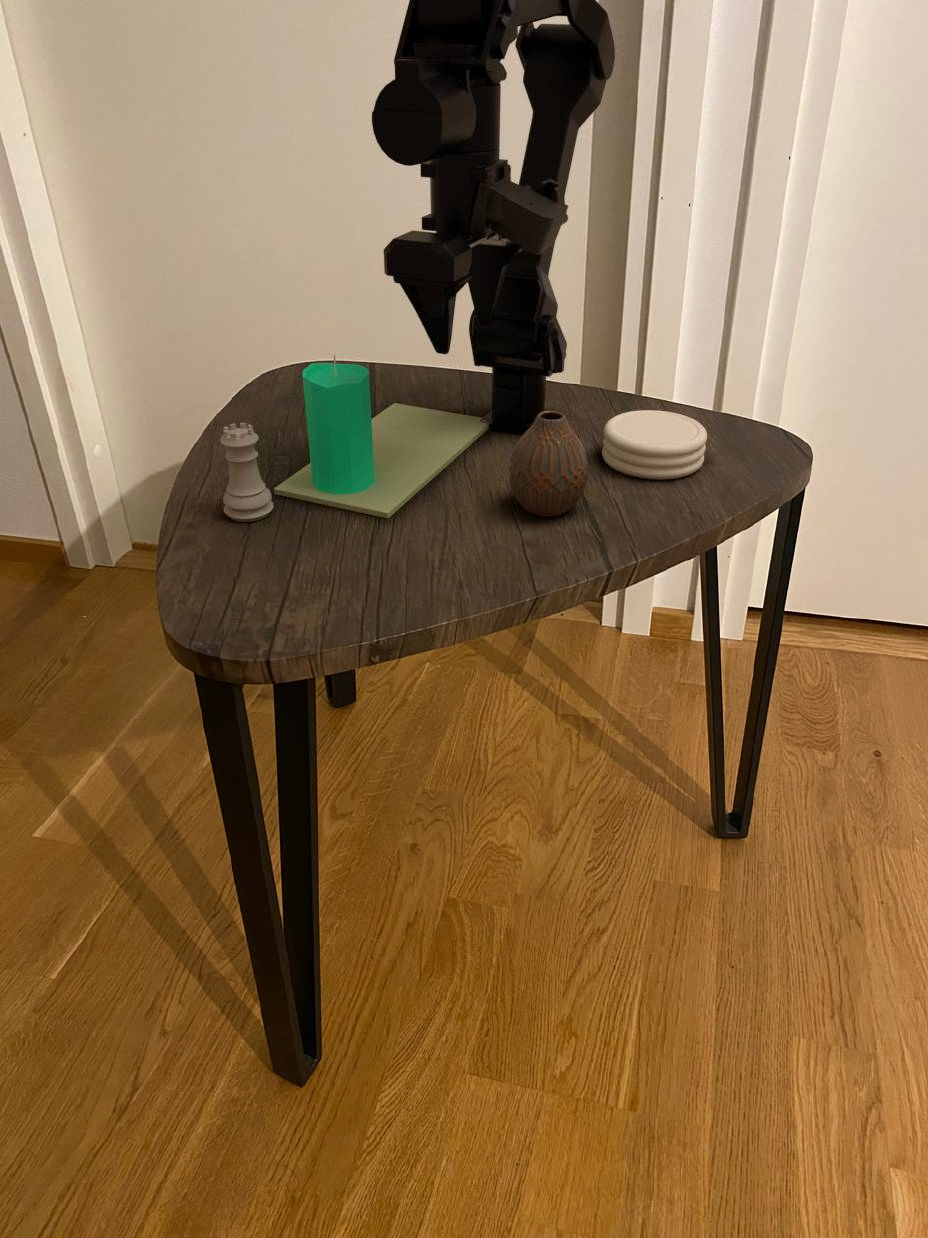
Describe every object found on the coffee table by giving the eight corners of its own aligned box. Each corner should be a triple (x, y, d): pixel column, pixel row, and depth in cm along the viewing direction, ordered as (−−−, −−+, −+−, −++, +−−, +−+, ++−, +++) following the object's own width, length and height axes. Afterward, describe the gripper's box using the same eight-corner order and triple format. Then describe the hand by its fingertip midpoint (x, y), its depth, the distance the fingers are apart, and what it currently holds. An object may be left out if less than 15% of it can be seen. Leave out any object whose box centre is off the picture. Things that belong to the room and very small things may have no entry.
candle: (298, 482, 92) (285, 356, 85) (343, 461, 96) (334, 340, 89) (344, 500, 89) (334, 371, 82) (388, 478, 93) (383, 353, 86)
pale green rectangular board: (394, 407, 109) (394, 402, 109) (493, 424, 105) (493, 419, 105) (274, 494, 91) (273, 488, 91) (388, 518, 87) (387, 512, 87)
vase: (580, 527, 86) (587, 433, 81) (502, 520, 87) (505, 427, 82) (588, 493, 91) (595, 403, 86) (515, 487, 92) (517, 397, 88)
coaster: (593, 474, 95) (595, 440, 93) (610, 435, 103) (613, 403, 101) (698, 487, 92) (703, 452, 90) (707, 446, 100) (712, 414, 98)
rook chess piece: (230, 527, 86) (217, 441, 81) (219, 506, 89) (206, 423, 85) (279, 518, 87) (270, 433, 83) (267, 497, 91) (257, 415, 86)
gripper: (513, 171, 70) (508, 383, 78) (594, 139, 84) (582, 321, 93) (376, 161, 74) (385, 364, 82) (476, 132, 88) (475, 308, 96)
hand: (464, 338), depth 88 cm, fingers open, 9 cm apart
